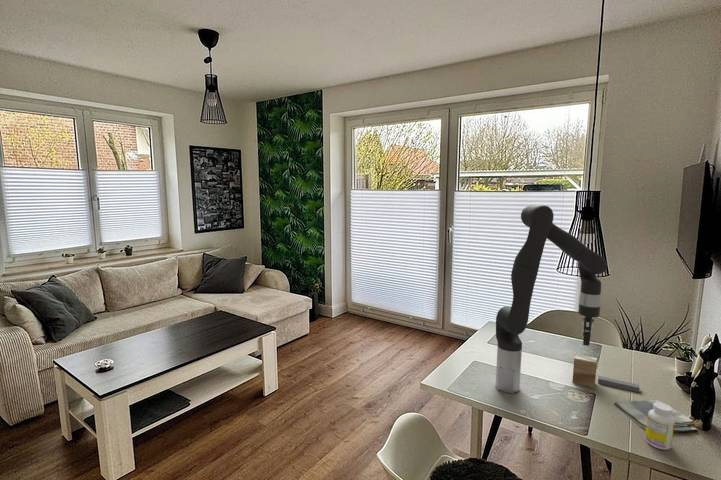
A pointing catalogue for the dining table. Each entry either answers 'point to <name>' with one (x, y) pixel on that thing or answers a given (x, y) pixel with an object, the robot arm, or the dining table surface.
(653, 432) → the supplement bottle
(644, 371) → the dining table surface
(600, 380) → the rail
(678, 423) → the dish towel
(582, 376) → the walnut slab
